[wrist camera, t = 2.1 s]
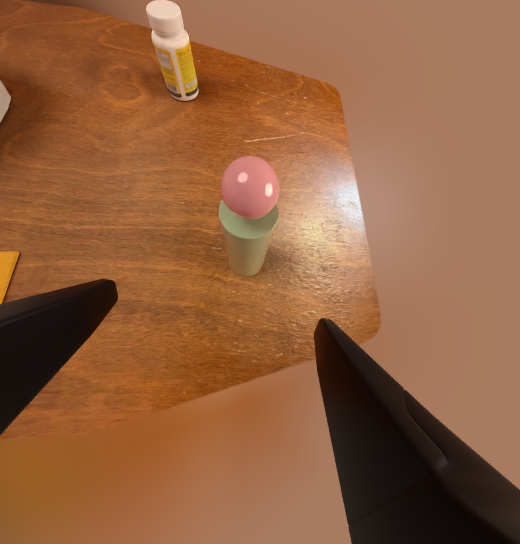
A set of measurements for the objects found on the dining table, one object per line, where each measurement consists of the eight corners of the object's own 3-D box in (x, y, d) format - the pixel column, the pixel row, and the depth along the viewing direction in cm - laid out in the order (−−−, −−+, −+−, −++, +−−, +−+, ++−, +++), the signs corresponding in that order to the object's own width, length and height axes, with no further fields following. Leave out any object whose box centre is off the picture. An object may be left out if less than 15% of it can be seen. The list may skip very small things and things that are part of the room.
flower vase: (270, 258, 24) (308, 166, 10) (247, 283, 22) (255, 216, 9) (244, 236, 24) (248, 122, 11) (220, 260, 23) (190, 164, 10)
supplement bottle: (198, 82, 32) (183, -2, 24) (200, 102, 30) (184, 20, 22) (168, 82, 31) (142, -4, 23) (169, 102, 30) (142, 18, 22)
